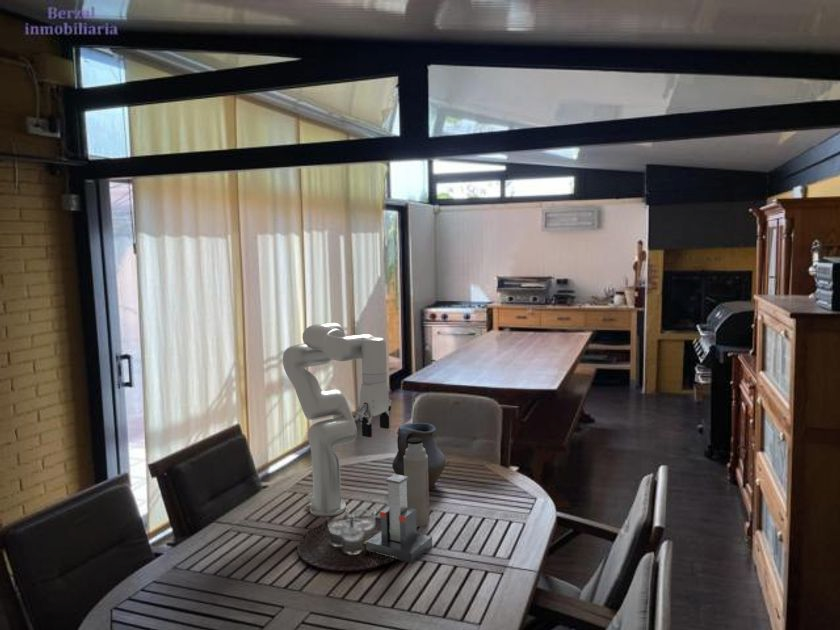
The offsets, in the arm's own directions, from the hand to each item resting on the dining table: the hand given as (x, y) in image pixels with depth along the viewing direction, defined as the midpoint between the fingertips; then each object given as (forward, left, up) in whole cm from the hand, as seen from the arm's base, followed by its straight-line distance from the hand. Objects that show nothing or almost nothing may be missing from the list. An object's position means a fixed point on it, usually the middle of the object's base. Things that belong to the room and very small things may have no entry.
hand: (376, 432), depth 194 cm
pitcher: (-10, +42, -34) cm, 55 cm away
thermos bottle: (+5, +16, -34) cm, 38 cm away
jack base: (+10, -3, -34) cm, 35 cm away
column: (+10, -3, -31) cm, 32 cm away
